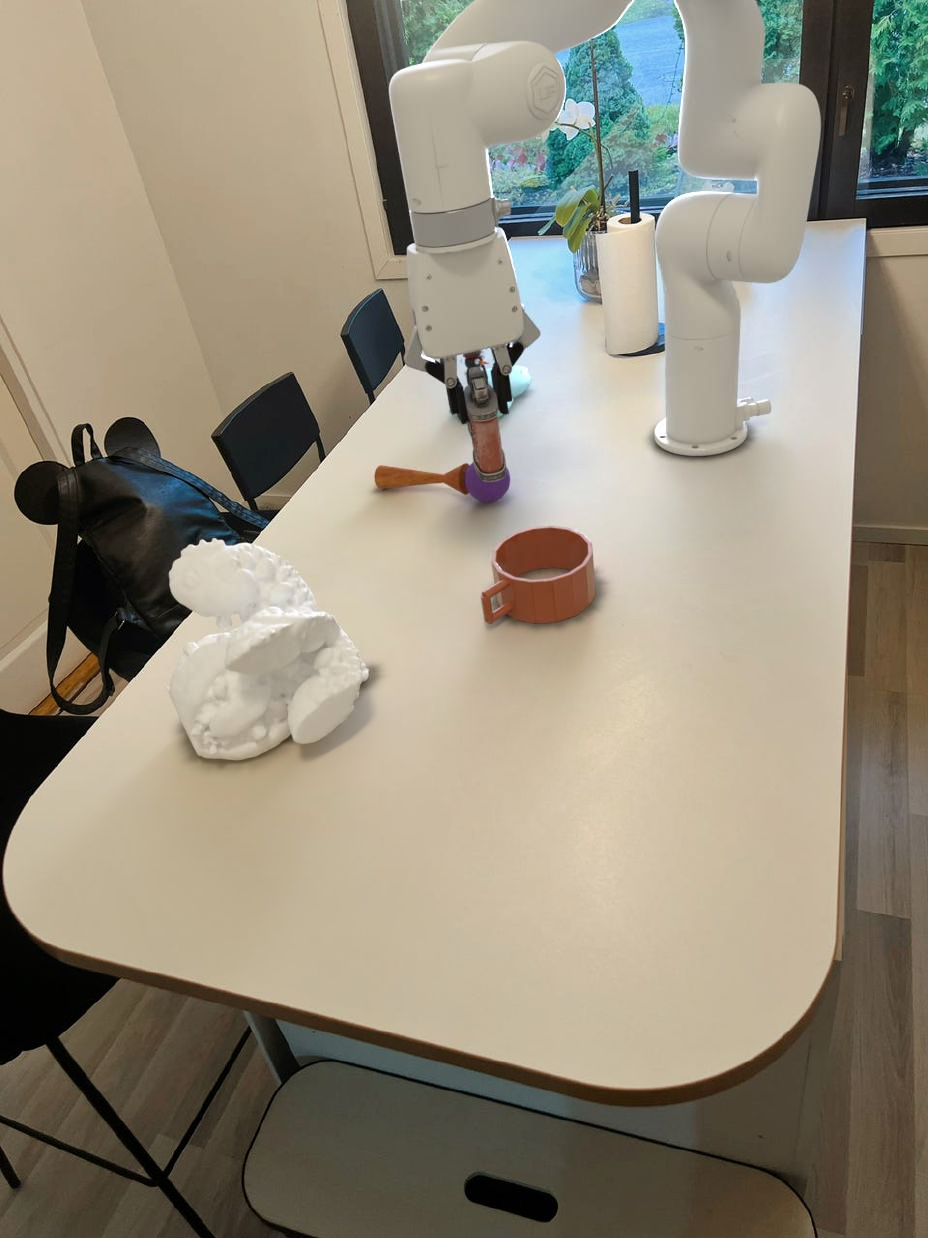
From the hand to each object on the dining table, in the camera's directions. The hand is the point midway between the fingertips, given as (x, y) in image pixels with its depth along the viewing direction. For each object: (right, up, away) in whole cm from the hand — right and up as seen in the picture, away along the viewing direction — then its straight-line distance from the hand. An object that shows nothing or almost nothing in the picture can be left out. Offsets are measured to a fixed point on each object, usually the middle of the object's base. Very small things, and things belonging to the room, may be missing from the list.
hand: (482, 412), depth 89 cm
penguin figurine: (+3, +15, +55) cm, 57 cm away
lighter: (+1, -5, +4) cm, 6 cm away
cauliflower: (-20, -31, 0) cm, 37 cm away
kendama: (-5, -4, +32) cm, 32 cm away
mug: (+6, -19, +9) cm, 22 cm away
